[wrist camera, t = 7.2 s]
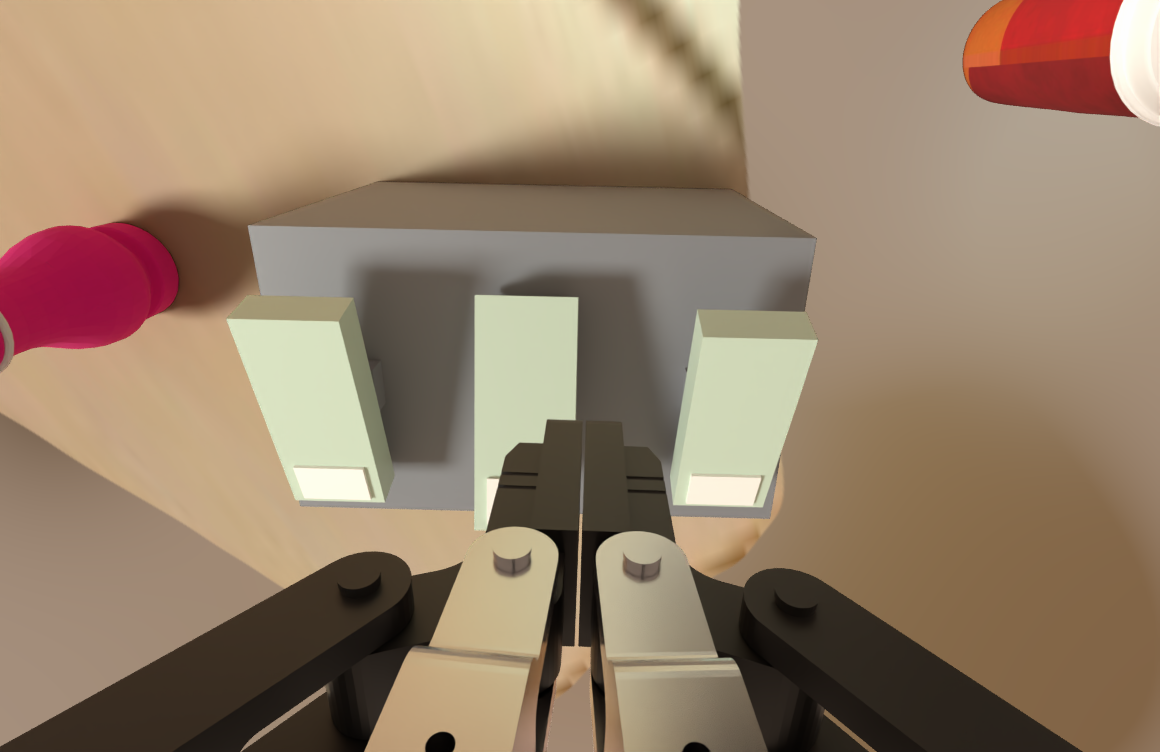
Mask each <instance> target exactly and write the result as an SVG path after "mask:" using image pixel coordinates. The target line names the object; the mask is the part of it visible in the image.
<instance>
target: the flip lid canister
mask: <svg viewBox="0 0 1160 752" xmlns="http://www.w3.org/2000/svg"><path fill="white" fill-rule="evenodd" d="M963 72H964V76H965V79H966V82H967V84H968V85H969V87H970V89H971V90H972V91H973V92H974V93H975V94H976V95H977V96H979V97H981V98H983V99H985V100H987V101H990V102H993V103H998V104H1005V105H1013V106H1022V107H1032V108H1041V109H1051V110H1059V111H1067V112H1075V113H1086V114H1101V115H1114V116H1115V115H1116V116H1127V117H1137V118H1140V119H1142V120H1143V121H1145V122H1148V123H1150V124H1152V125H1154V126H1158V127H1160V0H1002V1H1000V2H999V3H997V4H996V5H994V6H993V7H991V8H990V9H989V10H988V11H987V12H986V13H984V15H982V17H981V18H980V19H979V20H978V21H977V23H976V24H975V26H974V27H973V29H972V30H971V32H970V34H969V37H968V39H967V42H966V45H965V49H964V53H963Z"/></svg>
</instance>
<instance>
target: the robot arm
mask: <svg viewBox="0 0 1160 752" xmlns="http://www.w3.org/2000/svg"><path fill="white" fill-rule="evenodd" d="M582 429H583V420H557V419H547V422H546V428H545V434H544V441H543V443H520V442H519V443H518V444H517V445H516V446H515V447H514V448H513V449H512V450H511V451H510V452H509V453H508V454H507V455H506V456H505V459H504V463H503V467H502V471H501V475H500V479H499V483H498V488H497V490H496V494H495V498H494V502H493V506H492V510H491V514H490V518H489V522H488V526H487V529H486V533H485V534H484V535H482V536H480V537H479V538H478V539H476V540H475V541H474V542H473V543H472V544H471V546H470V547H469V549H468V551H467V553H466V556H465V558H464V561H463V562H461V563H459V564H457V565H455V566H452V567H449V568H446V569H443V570H439V571H434V572H429V573H424V574H419V575H413V576H411V571H410V568H409V567H408V565H407V564H406V563H405V562H404V561H403V560H402V559H401V558H399V557H397V556H395V555H392V554H389V553H384V552H362V553H357V554H353V555H349V556H346V557H343V558H341V559H339V560H337V561H335V562H333V563H331V564H329V565H327V566H325V567H324V568H322V569H320V570H318V571H316V572H315V573H313V574H311V575H309V576H307V577H306V578H304V579H302V580H300V581H298V582H297V583H295V584H293V585H291V586H289V587H288V588H286V589H284V590H282V591H281V592H279V593H277V594H275V595H273V596H271V597H270V598H268V599H266V600H264V601H262V602H260V603H259V604H257V605H255V606H253V607H252V608H250V609H248V610H246V611H244V612H242V613H241V614H239V615H237V616H235V617H233V618H232V619H230V620H228V621H226V622H224V623H223V624H221V625H219V626H217V627H216V628H213V629H212V630H210V631H208V632H207V633H204V634H203V635H201V636H199V637H197V638H195V639H194V640H192V641H190V642H188V643H186V644H185V645H183V646H181V647H179V648H177V649H176V650H174V651H172V652H170V653H168V654H167V655H165V656H163V657H161V658H159V659H158V660H156V661H154V662H152V663H150V664H149V665H147V666H145V667H143V668H141V669H140V670H138V671H136V672H134V673H132V674H131V675H129V676H127V677H125V678H123V679H121V680H120V681H118V682H116V683H115V684H112V685H111V686H109V687H107V688H105V689H103V690H102V691H100V692H98V693H96V694H94V695H93V696H91V697H89V698H87V699H85V700H84V701H82V702H80V703H78V704H76V705H74V706H73V707H71V708H69V709H67V710H65V711H64V712H62V713H60V714H58V715H56V716H55V717H53V718H51V719H49V720H47V721H46V722H44V723H42V724H40V725H38V726H37V727H35V728H33V729H31V730H30V731H28V732H26V733H24V734H22V735H20V736H19V737H17V738H15V739H13V740H11V741H9V742H8V743H6V744H4V745H2V746H1V747H0V752H240V751H241V750H242V748H243V747H244V745H245V744H246V743H247V742H248V741H249V740H250V739H251V738H252V737H253V736H254V735H255V734H256V733H258V732H259V731H261V730H262V729H263V728H265V727H266V726H268V725H269V724H270V723H272V722H273V721H275V720H276V719H278V718H279V717H281V716H282V715H283V714H285V713H286V712H288V711H289V710H291V709H292V708H293V707H295V706H296V705H298V704H299V703H301V702H302V701H303V700H305V699H306V698H307V697H309V696H311V695H312V694H313V693H315V692H316V691H318V690H319V689H321V688H322V687H323V686H325V687H326V692H325V693H324V694H322V695H321V696H319V697H318V698H316V699H315V700H314V701H312V702H311V703H309V704H308V705H307V706H305V707H304V708H302V709H301V710H300V711H298V712H297V713H295V714H294V715H293V716H291V717H290V718H288V719H287V720H285V721H284V722H283V723H281V724H280V725H278V726H277V727H276V728H274V729H273V730H271V731H270V732H269V733H267V734H266V735H264V736H263V737H261V738H260V739H259V740H258V741H256V742H254V743H253V744H252V745H250V746H249V747H247V748H246V749H245V750H243V751H242V752H547V746H548V739H549V732H550V726H551V720H552V714H553V707H554V701H555V694H556V678H557V676H558V674H559V671H560V666H561V653H562V646H574V643H575V618H576V592H577V567H578V542H579V517H580V489H581V459H582ZM578 646H582V647H591V669H590V706H591V719H592V733H593V745H594V752H868V751H867V750H866V749H865V748H863V747H862V746H861V745H860V744H859V743H858V742H856V741H855V740H854V739H853V738H851V737H850V736H849V735H848V734H847V733H846V732H844V731H843V730H842V729H841V728H840V727H838V726H837V725H836V724H835V723H833V722H832V721H831V720H830V719H829V718H827V717H826V716H825V715H824V710H825V709H826V710H827V711H828V712H829V713H830V714H832V715H833V716H834V717H836V718H837V719H838V720H839V721H840V722H842V723H843V724H844V725H845V726H846V727H848V728H849V729H850V730H851V731H852V732H854V733H855V734H856V735H857V736H858V737H860V738H861V739H862V740H863V741H865V742H866V743H867V744H868V745H869V746H871V747H872V748H873V749H874V750H875V751H877V752H1082V751H1081V750H1079V749H1078V748H1076V747H1075V746H1073V745H1072V744H1070V743H1069V742H1067V741H1065V740H1064V739H1063V738H1061V737H1059V736H1058V735H1056V734H1055V733H1053V732H1052V731H1050V730H1049V729H1047V728H1046V727H1044V726H1043V725H1041V724H1040V723H1038V722H1037V721H1035V720H1034V719H1032V718H1030V717H1029V716H1027V715H1026V714H1024V713H1023V712H1021V711H1020V710H1018V709H1017V708H1015V707H1014V706H1012V705H1011V704H1009V703H1008V702H1006V701H1005V700H1003V699H1001V698H1000V697H998V696H997V695H995V694H994V693H992V692H991V691H989V690H988V689H986V688H985V687H983V686H982V685H980V684H979V683H977V682H976V681H974V680H972V679H971V678H969V677H968V676H966V675H965V674H963V673H962V672H960V671H959V670H957V669H956V668H954V667H953V666H951V665H949V664H948V663H947V662H945V661H943V660H942V659H940V658H939V657H937V656H936V655H934V654H932V653H931V652H930V651H928V650H927V649H925V648H924V647H922V646H921V645H919V644H918V643H916V642H914V641H913V640H911V639H910V638H908V637H907V636H905V635H904V634H902V633H901V632H899V631H898V630H896V629H895V628H893V627H892V626H890V625H889V624H887V623H885V622H884V621H882V620H881V619H879V618H878V617H876V616H875V615H873V614H872V613H870V612H869V611H867V610H866V609H864V608H863V607H861V606H860V605H858V604H856V603H855V602H853V601H852V600H850V599H849V598H847V597H846V596H844V595H843V594H841V593H839V592H838V591H837V590H835V589H833V588H832V587H831V586H829V585H827V584H826V583H824V582H823V581H821V580H819V579H818V578H816V577H814V576H811V575H809V574H806V573H803V572H800V571H796V570H792V569H784V568H774V569H766V570H763V571H760V572H758V573H756V574H754V575H753V576H752V577H750V578H749V580H748V581H747V582H746V584H745V587H744V588H743V587H739V586H736V585H732V584H729V583H725V582H721V581H718V580H715V579H712V578H710V577H708V576H705V575H703V574H702V573H700V572H698V571H696V570H695V569H694V568H692V567H691V566H690V565H689V563H688V560H687V557H686V555H685V553H684V552H683V551H682V549H681V548H680V547H679V546H678V545H677V544H676V542H675V537H674V531H673V526H672V520H671V515H670V509H669V504H668V498H667V494H666V487H665V481H664V476H663V470H662V465H661V461H660V460H659V459H658V458H657V457H656V455H655V454H654V453H653V452H652V451H651V450H650V449H649V448H648V447H635V446H624V441H623V429H622V422H616V421H588V420H586V435H585V463H584V491H583V520H582V552H581V583H580V614H579V645H578Z"/></svg>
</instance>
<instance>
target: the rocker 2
mask: <svg viewBox="0 0 1160 752" xmlns="http://www.w3.org/2000/svg"><path fill="white" fill-rule="evenodd" d="M578 309H579V297H551V296H509V295H475V402H474V530H486V529H487V526H488V522H489V518H490V514H491V510H492V506H493V502H494V498H495V494H496V490H497V488H498V483H499V479H500V475H501V471H502V467H503V463H504V459H505V456H506V455H507V454H508V453H509V452H510V451H511V450H512V449H513V448H514V447H515V446H516V445H517V444H518V443H519V442H520V443H543V441H544V434H545V428H546V422H547V419H557V420H576V397H577V353H578Z"/></svg>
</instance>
